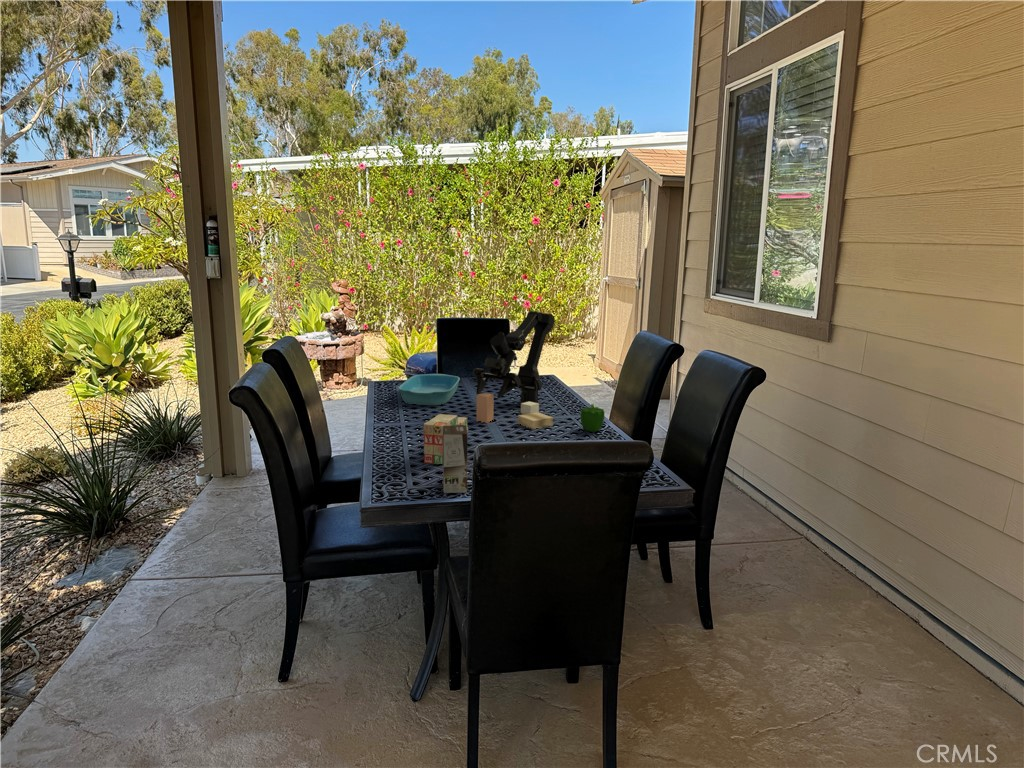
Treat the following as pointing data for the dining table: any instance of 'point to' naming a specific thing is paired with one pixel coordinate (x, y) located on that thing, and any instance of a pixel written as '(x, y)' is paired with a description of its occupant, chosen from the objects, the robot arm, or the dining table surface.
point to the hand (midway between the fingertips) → (487, 395)
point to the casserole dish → (429, 389)
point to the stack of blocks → (438, 436)
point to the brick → (529, 407)
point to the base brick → (535, 420)
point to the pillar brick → (485, 407)
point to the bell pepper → (592, 418)
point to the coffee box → (455, 458)
